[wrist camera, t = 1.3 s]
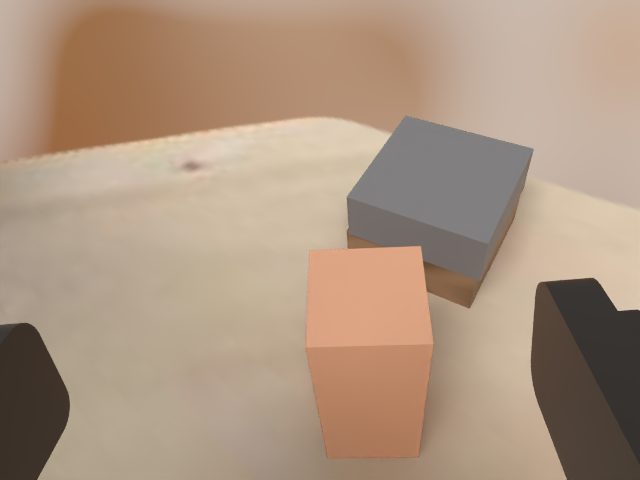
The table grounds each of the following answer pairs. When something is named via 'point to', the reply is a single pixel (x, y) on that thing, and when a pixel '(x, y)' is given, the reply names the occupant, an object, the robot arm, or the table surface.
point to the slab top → (440, 194)
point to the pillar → (369, 349)
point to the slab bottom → (445, 272)
